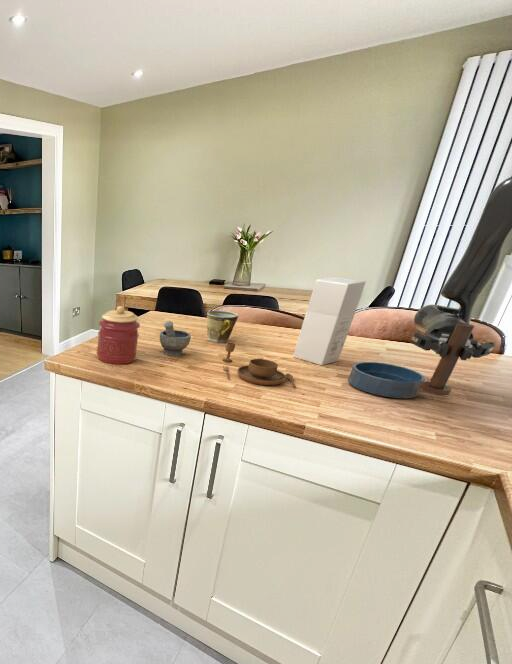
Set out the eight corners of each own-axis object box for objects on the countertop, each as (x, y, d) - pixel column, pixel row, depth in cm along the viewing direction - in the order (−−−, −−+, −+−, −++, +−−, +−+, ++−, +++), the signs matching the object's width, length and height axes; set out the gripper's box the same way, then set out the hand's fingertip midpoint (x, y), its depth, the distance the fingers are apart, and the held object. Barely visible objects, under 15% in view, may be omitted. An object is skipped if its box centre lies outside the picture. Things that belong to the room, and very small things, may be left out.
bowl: (415, 386, 108) (423, 369, 106) (418, 405, 98) (427, 387, 96) (348, 374, 117) (354, 358, 114) (345, 390, 107) (351, 373, 105)
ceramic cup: (198, 335, 153) (203, 310, 149) (226, 336, 152) (232, 310, 147) (210, 346, 141) (215, 319, 137) (240, 347, 140) (246, 319, 136)
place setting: (227, 382, 114) (231, 363, 111) (220, 358, 131) (223, 341, 128) (299, 390, 108) (306, 370, 105) (282, 364, 125) (287, 346, 122)
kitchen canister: (121, 368, 126) (127, 313, 119) (88, 357, 135) (91, 306, 128) (143, 357, 134) (150, 305, 126) (110, 348, 143) (115, 299, 135)
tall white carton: (309, 352, 133) (333, 276, 123) (338, 360, 126) (366, 281, 116) (292, 357, 130) (315, 279, 120) (321, 365, 123) (348, 284, 112)
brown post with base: (448, 389, 93) (481, 323, 86) (450, 397, 90) (484, 329, 83) (418, 384, 96) (448, 320, 89) (419, 391, 93) (450, 325, 86)
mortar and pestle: (167, 346, 143) (172, 313, 138) (192, 353, 136) (199, 319, 131) (149, 353, 137) (153, 319, 132) (174, 361, 130) (180, 325, 125)
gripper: (414, 315, 101) (417, 332, 89) (497, 324, 92) (513, 344, 81) (402, 343, 104) (404, 363, 93) (481, 354, 96) (494, 377, 84)
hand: (455, 354), depth 87 cm, fingers closed on brown post with base, 2 cm apart
